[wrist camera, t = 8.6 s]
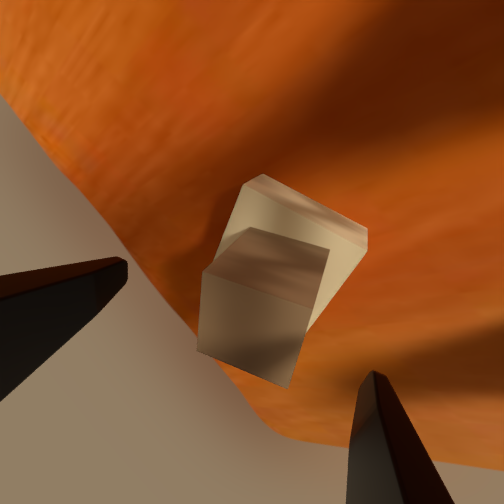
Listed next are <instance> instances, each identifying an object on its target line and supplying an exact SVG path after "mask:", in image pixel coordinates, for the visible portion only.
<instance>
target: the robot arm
mask: <svg viewBox="0 0 504 504" xmlns="http://www.w3.org/2000/svg"><path fill="white" fill-rule="evenodd" d="M127 279H128V263H127V261H126V260H124V259H122V258H120V257H110V258H104V259H98V260H91V261H85V262H79V263H74V264H67V265H61V266H55V267H49V268H43V269H37V270H31V271H25V272H19V273H13V274H8V275H1V276H0V402H1V401H2V400H3V399H4V398H5V397H6V396H7V395H8V394H9V393H11V392H12V391H13V390H14V389H15V388H16V387H17V386H18V385H20V384H21V383H22V382H23V381H24V380H25V379H26V378H27V377H28V376H30V375H31V374H32V373H33V372H34V371H35V370H36V369H37V368H38V367H39V366H41V365H42V364H43V363H44V362H45V361H46V360H47V359H48V358H49V357H51V356H52V355H53V354H54V353H55V352H56V351H57V350H59V349H60V347H62V346H63V345H64V344H65V343H66V342H67V341H69V340H70V338H72V337H73V336H74V335H75V334H76V333H77V332H79V331H80V330H81V329H82V328H83V327H84V326H85V325H86V324H87V323H89V322H90V321H91V320H92V319H93V318H94V317H95V316H96V315H97V314H98V313H99V312H100V311H101V310H102V309H103V308H104V307H105V306H106V305H107V303H108V302H109V301H110V300H111V299H112V298H113V297H114V296H115V294H117V293H118V291H119V290H120V289H121V288H122V287H123V286H124V285H125V284H126V282H127ZM346 504H455V503H454V502H453V500H452V498H451V496H450V494H449V492H448V490H447V489H446V487H445V485H444V483H443V481H442V480H441V477H440V475H439V474H438V472H437V470H436V468H435V466H434V464H433V462H432V460H431V459H430V457H429V455H428V453H427V451H426V449H425V447H424V445H423V444H422V442H421V440H420V438H419V436H418V434H417V432H416V430H415V429H414V427H413V425H412V423H411V421H410V419H409V417H408V415H407V414H406V412H405V410H404V408H403V406H402V404H401V402H400V400H399V399H398V397H397V395H396V393H395V391H394V389H393V387H392V386H391V384H390V382H389V380H388V378H387V377H386V376H385V375H383V374H381V373H379V372H377V371H374V370H372V371H371V372H370V373H369V374H368V376H367V377H366V378H365V380H364V381H363V383H362V384H361V386H360V388H359V391H358V396H357V402H356V407H355V413H354V419H353V425H352V430H351V436H350V444H349V457H348V476H347V492H346Z"/></svg>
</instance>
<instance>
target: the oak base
mask: <svg viewBox="0 0 504 504" xmlns="http://www.w3.org/2000/svg"><path fill="white" fill-rule="evenodd" d="M249 227H253V228H257V229H260V230H264V231H267V232H271V233H274V234H278V235H281V236H285V237H288V238H292V239H295V240H299V241H302V242H306V243H309V244H313V245H316V246H320V247H323V248H327V249H330V252H329V256H328V259H327V263H326V266H325V270H324V273H323V277H322V280H321V284H320V287H319V291H318V294H317V298H316V301H315V305H314V308H313V311H312V315H311V318H310V321H309V324H308V327H307V330H306V332H307V331H308V330H309V328H310V327H311V326H312V324H313V323H314V322H315V320H316V319H317V318H318V316H319V315H320V314H321V312H322V311H323V310H324V308H325V307H326V306H327V304H328V303H329V302H330V300H331V299H332V298H333V296H334V295H335V294H336V292H337V291H338V290H339V288H340V287H341V286H342V284H343V283H344V282H345V280H346V279H347V278H348V276H349V275H350V274H351V272H352V271H353V270H354V268H355V267H356V266H357V264H358V263H359V262H360V260H361V259H362V258H363V256H364V255H365V254H366V252H367V243H368V229H367V228H365V227H364V226H362V225H360V224H358V223H356V222H354V221H352V220H350V219H348V218H346V217H345V216H343V215H341V214H339V213H337V212H335V211H333V210H331V209H329V208H327V207H326V206H324V205H322V204H320V203H318V202H316V201H314V200H312V199H310V198H308V197H307V196H305V195H303V194H301V193H299V192H297V191H295V190H293V189H291V188H289V187H288V186H286V185H284V184H282V183H280V182H278V181H276V180H274V179H272V178H270V177H269V176H267V175H265V174H261V175H259V176H257V177H255V178H253V179H252V180H250V181H248V182H246V183H244V184H243V186H242V188H241V191H240V193H239V196H238V198H237V201H236V204H235V206H234V209H233V211H232V214H231V216H230V219H229V222H228V224H227V227H226V229H225V232H224V234H223V237H222V239H221V242H220V245H219V247H218V250H217V252H216V255H215V257H214V260H215V259H216V258H217V257H218V256H219V255H220V254H222V253H223V252H224V251H225V250H226V249H227V248H228V247H229V246H230V245H231V244H232V243H233V242H234V241H235V240H237V239H238V238H239V237H240V236H241V235H242V234H243V233H244V232H245V231H246V230H247V229H248V228H249ZM214 260H213V261H214ZM305 334H306V333H305Z"/></svg>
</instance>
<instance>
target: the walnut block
mask: <svg viewBox="0 0 504 504" xmlns="http://www.w3.org/2000/svg"><path fill="white" fill-rule="evenodd" d="M329 252H330V249H327V248H323V247H320V246H316V245H313V244H309V243H306V242H302V241H299V240H295V239H292V238H288V237H285V236H281V235H278V234H274V233H271V232H267V231H264V230H260V229H257V228H253V227H249V228H248V229H247V230H246V231H245V232H244V233H243V234H242V235H241V236H240V237H239V238H238V239H237V240H235V241H234V242H233V243H232V244H231V245H230V246H229V247H228V248H227V249H226V250H225V251H224V252H223V253H222V254H220V255H219V256H218V257H217V258H216V259H215V260H214V261H213V262H212V263H211V264H210V265H209V266H208V267H207V268H205V269H204V270H203V271H202V283H201V298H200V312H199V326H198V341H197V351H198V352H201V353H203V354H206V355H208V356H210V357H213V358H215V359H217V360H220V361H222V362H224V363H227V364H229V365H232V366H234V367H236V368H239V369H241V370H243V371H246V372H248V373H250V374H253V375H255V376H258V377H260V378H262V379H265V380H267V381H269V382H272V383H274V384H276V385H279V386H281V387H284V388H286V389H288V387H289V384H290V381H291V377H292V374H293V371H294V368H295V365H296V362H297V359H298V355H299V352H300V349H301V346H302V343H303V340H304V337H305V333H306V330H307V327H308V324H309V321H310V318H311V315H312V311H313V308H314V305H315V301H316V298H317V294H318V291H319V287H320V284H321V280H322V277H323V273H324V270H325V266H326V263H327V259H328V256H329Z"/></svg>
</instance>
